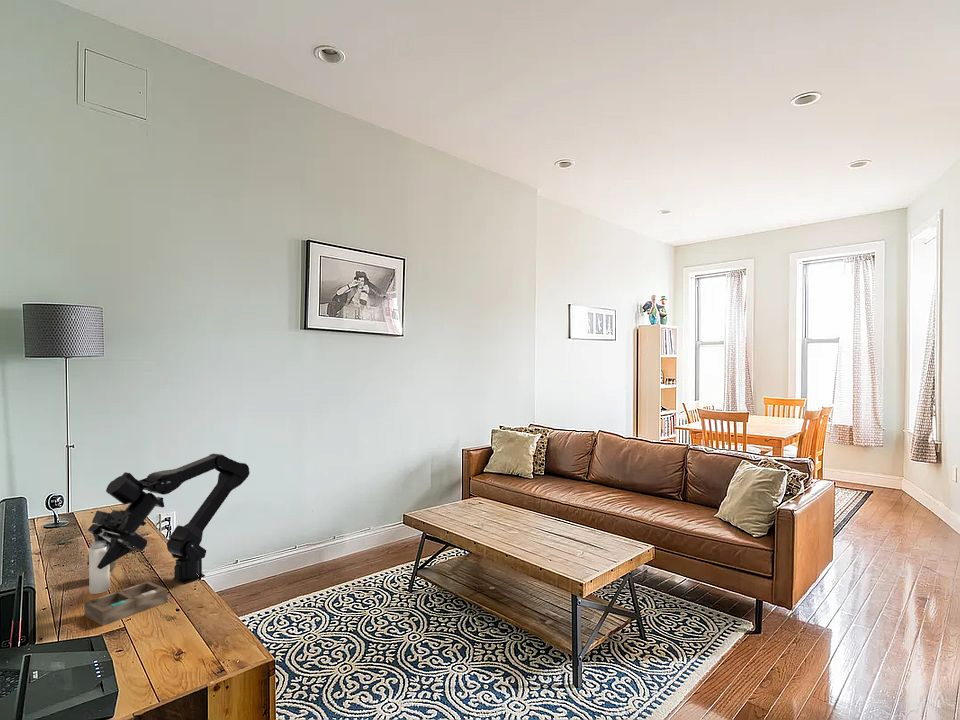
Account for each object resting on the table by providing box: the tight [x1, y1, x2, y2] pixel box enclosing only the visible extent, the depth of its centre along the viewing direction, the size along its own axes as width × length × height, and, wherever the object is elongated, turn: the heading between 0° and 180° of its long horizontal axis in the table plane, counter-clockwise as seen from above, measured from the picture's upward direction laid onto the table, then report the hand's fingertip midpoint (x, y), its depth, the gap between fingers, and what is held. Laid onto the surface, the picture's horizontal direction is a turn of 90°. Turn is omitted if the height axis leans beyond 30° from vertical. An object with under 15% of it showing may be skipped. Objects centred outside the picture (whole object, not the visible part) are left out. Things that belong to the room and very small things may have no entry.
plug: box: [88, 540, 111, 595], centre depth 145 cm, size 4×4×12 cm
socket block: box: [83, 581, 168, 626], centre depth 147 cm, size 16×10×4 cm, turn 147°
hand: (93, 566), depth 144 cm, fingers closed on plug, 4 cm apart
